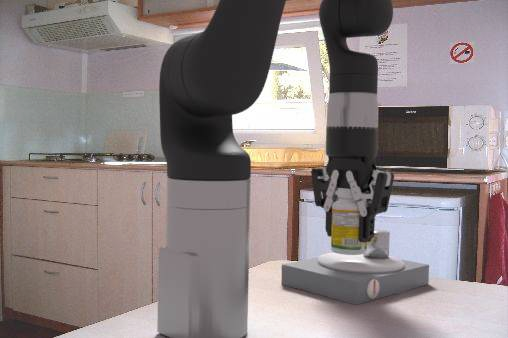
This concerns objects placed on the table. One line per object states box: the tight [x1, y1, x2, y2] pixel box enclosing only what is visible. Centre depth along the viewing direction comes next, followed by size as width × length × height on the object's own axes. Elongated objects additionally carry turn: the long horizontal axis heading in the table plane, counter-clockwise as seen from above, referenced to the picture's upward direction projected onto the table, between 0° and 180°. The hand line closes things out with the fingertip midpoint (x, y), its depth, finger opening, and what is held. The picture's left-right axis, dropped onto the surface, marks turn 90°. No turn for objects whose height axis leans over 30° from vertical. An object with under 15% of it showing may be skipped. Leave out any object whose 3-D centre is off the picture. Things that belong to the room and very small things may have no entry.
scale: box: [281, 251, 430, 306], centre depth 87 cm, size 18×14×4 cm
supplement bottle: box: [330, 188, 367, 255], centre depth 86 cm, size 5×5×10 cm
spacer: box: [363, 229, 391, 259], centre depth 91 cm, size 4×4×4 cm
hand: (348, 238), depth 86 cm, fingers closed on supplement bottle, 5 cm apart
